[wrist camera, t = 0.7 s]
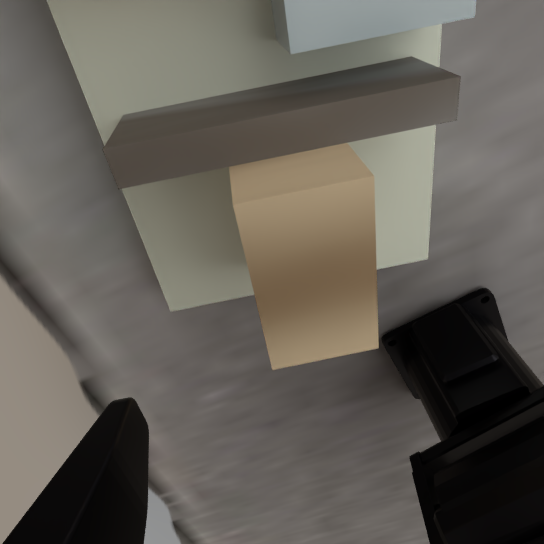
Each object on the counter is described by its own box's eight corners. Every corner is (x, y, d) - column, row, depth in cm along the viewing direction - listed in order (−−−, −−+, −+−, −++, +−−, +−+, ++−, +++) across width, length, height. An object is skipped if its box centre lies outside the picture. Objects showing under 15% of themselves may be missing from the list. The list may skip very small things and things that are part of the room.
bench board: (411, 237, 21) (427, 259, 20) (173, 285, 21) (170, 311, 20) (429, -365, 11) (468, -424, 9) (-36, -272, 11) (-80, -315, 9)
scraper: (407, 235, 19) (476, 327, 14) (183, 281, 19) (174, 390, 14) (411, 56, 15) (513, 98, 10) (123, 114, 15) (80, 186, 10)
